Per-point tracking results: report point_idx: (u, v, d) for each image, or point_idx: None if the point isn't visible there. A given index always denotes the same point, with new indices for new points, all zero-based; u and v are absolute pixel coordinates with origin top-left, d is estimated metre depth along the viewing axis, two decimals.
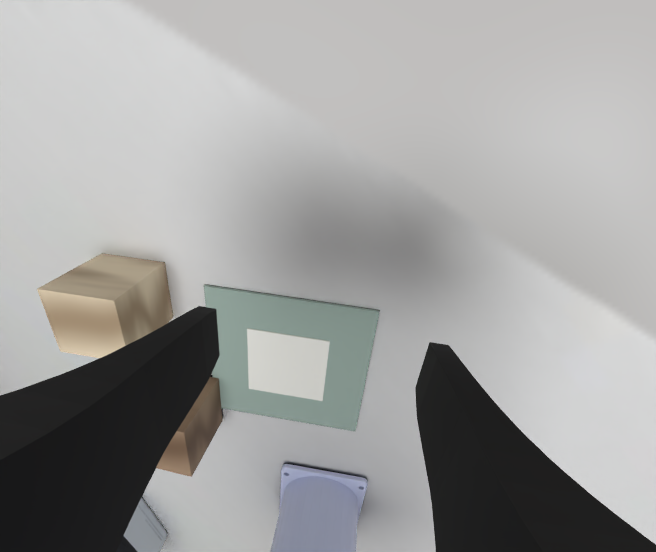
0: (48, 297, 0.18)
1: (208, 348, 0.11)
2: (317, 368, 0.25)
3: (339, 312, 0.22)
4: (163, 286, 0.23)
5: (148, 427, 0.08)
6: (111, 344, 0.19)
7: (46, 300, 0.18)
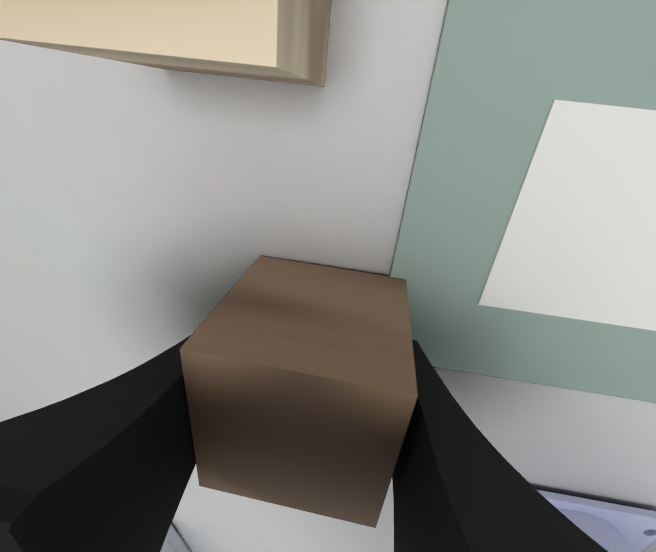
0: None
1: None
2: None
3: None
4: None
5: (186, 434, 0.08)
6: None
7: None
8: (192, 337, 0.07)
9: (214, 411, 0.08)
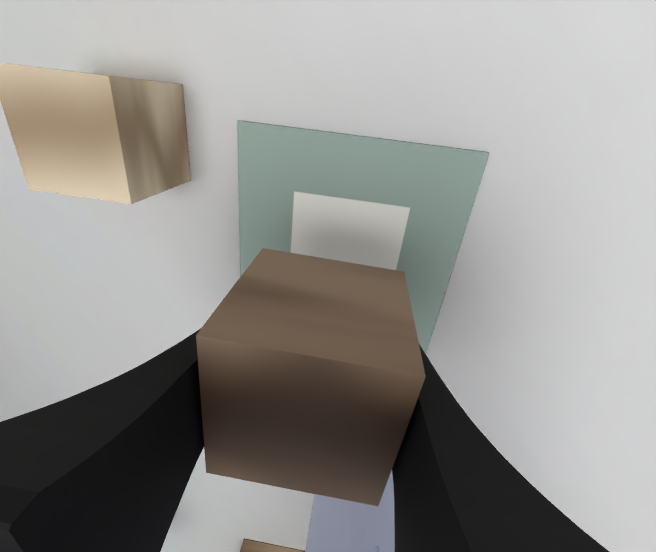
0: (7, 77, 0.12)
1: None
2: (386, 255, 0.18)
3: (430, 156, 0.16)
4: (180, 121, 0.16)
5: (186, 434, 0.08)
6: (104, 169, 0.13)
7: (3, 85, 0.12)
8: (207, 325, 0.07)
9: (226, 397, 0.08)
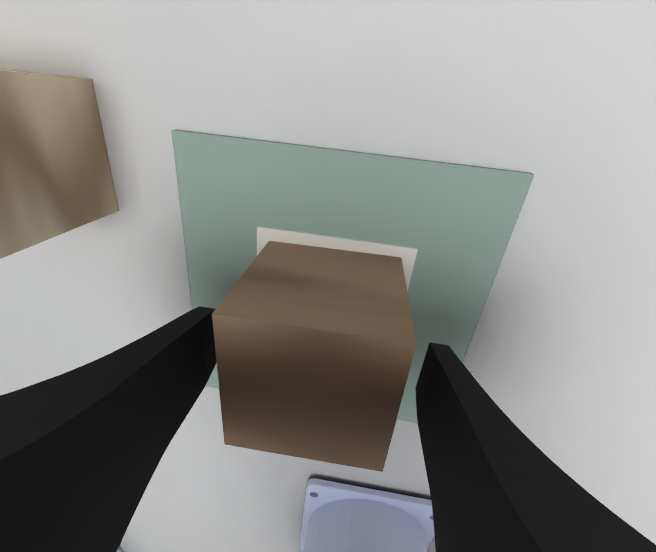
0: None
1: (208, 348, 0.11)
2: None
3: (447, 180, 0.11)
4: (91, 132, 0.11)
5: (148, 427, 0.08)
6: None
7: None
8: (221, 305, 0.08)
9: (240, 370, 0.09)
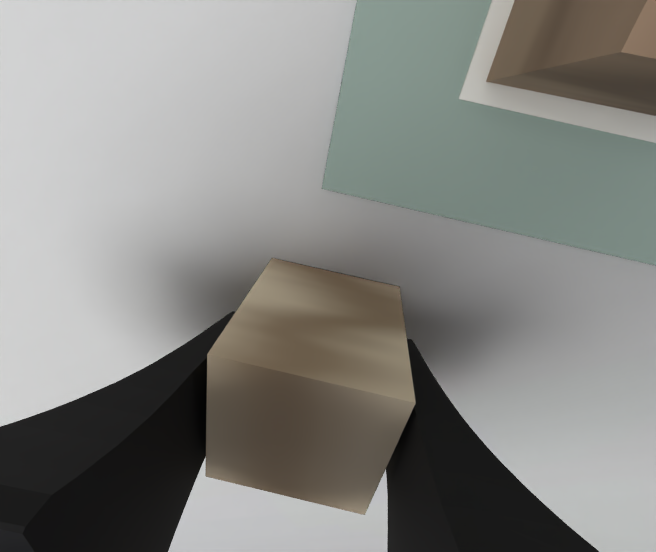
0: (221, 468, 0.09)
1: None
2: None
3: None
4: (314, 276, 0.11)
5: (193, 435, 0.08)
6: (347, 416, 0.07)
7: (230, 475, 0.09)
8: (602, 50, 0.04)
9: None
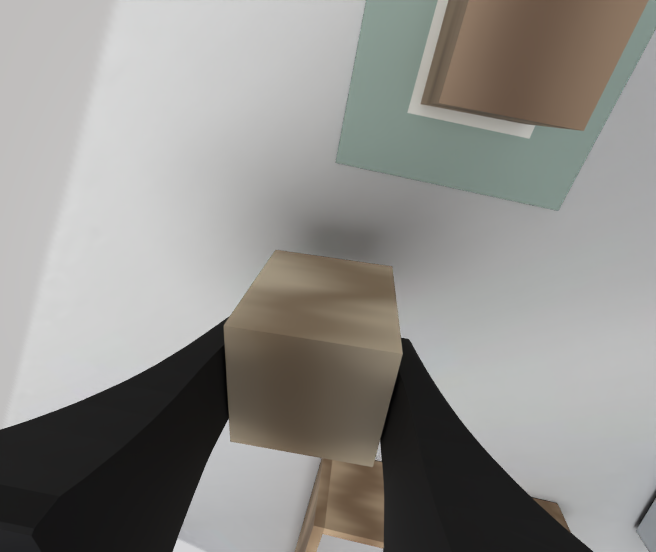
0: (243, 432, 0.10)
1: None
2: None
3: None
4: (314, 262, 0.12)
5: (197, 436, 0.08)
6: (346, 372, 0.08)
7: (251, 438, 0.10)
8: (437, 101, 0.12)
9: (496, 90, 0.11)
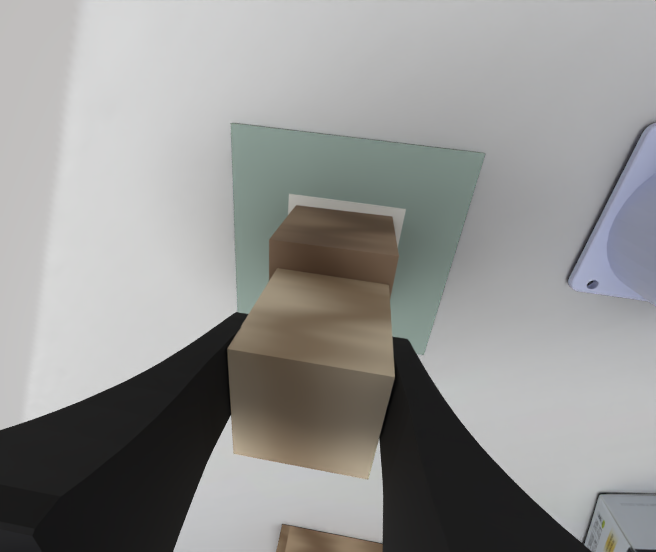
0: (246, 445, 0.11)
1: None
2: None
3: (242, 179, 0.17)
4: (313, 280, 0.13)
5: (197, 436, 0.08)
6: (342, 392, 0.09)
7: (253, 451, 0.11)
8: None
9: None
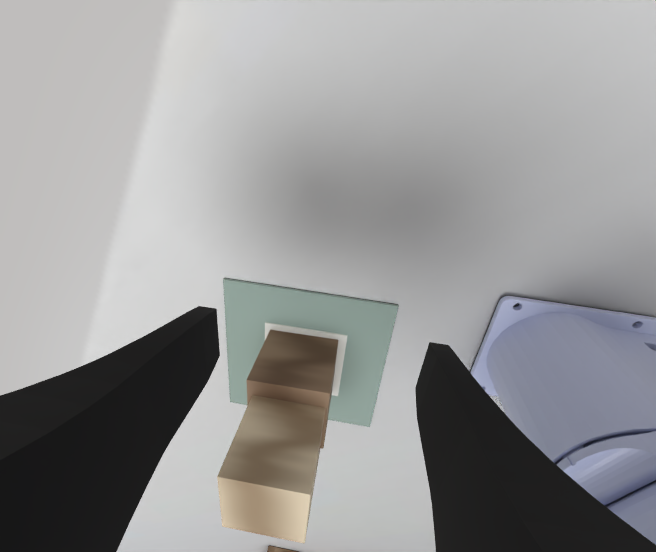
0: (230, 522, 0.17)
1: (208, 348, 0.11)
2: None
3: (231, 311, 0.24)
4: (275, 407, 0.19)
5: (148, 427, 0.08)
6: (283, 500, 0.16)
7: (234, 525, 0.17)
8: None
9: None
